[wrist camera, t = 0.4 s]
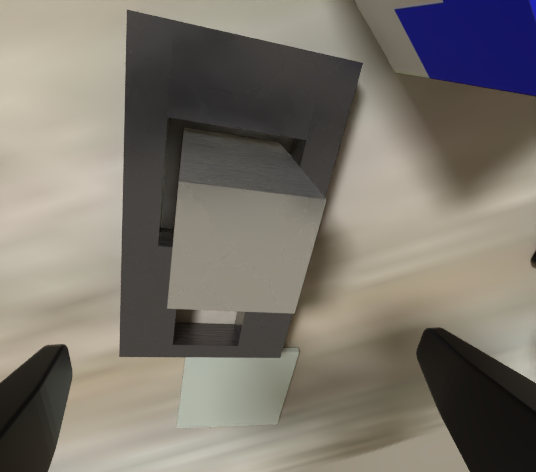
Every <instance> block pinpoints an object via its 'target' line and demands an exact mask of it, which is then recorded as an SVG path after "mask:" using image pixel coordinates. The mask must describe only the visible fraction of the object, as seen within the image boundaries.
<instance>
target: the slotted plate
mask: <svg viewBox="0 0 536 472" xmlns="http://www.w3.org/2000/svg"><path fill="white" fill-rule="evenodd" d="M362 64H363V63H360V62H356V61H351V60H347V59H343V58H338V57H334V56H329V55H325V54H320V53H316V52H312V51H307V50H303V49H298V48H294V47H290V46H285V45H281V44H276V43H272V42H267V41H263V40H259V39H254V38H250V37H245V36H241V35H236V34H232V33H228V32H223V31H219V30H214V29H210V28H205V27H201V26H197V25H192V24H188V23H183V22H179V21H175V20H170V19H166V18H161V17H157V16H152V15H148V14H144V13H139V12H135V11H130V10H127V35H126V81H125V126H124V172H123V217H122V263H121V309H120V354H119V357H214V358H280V357H281V354H282V350H283V347H284V343H285V340H286V336H287V332H288V329H289V325H290V322H291V318H292V315H293V314H292V313H266V312H241V311H237V316H236V321H235V325H233V324H200V323H175V318H176V309H167V304H168V293H169V282H170V271H171V260H172V249H173V238H174V230H171V229H161V221H162V207H163V194H164V180H165V166H166V153H167V139H168V126H169V118H174V119H180V120H186V121H192V122H199V123H205V124H211V125H217V126H223V127H229V128H235V129H242V130H248V131H254V132H260V133H266V134H272V135H278V136H285V137H291V138H295V139H294V144H293V148H292V153H291V157H292V158H293V159H294V161H295V162H296V163H297V164H298V165H299V167H300V168H301V169H302V170H303V171H304V173H305V174H306V175H307V176H308V177H309V179H310V180H311V181H312V182H313V184H314V185H315V186H316V187H317V188H318V190H319V191H320V192H321V193H322V194H323V196H324V197H326V193H327V189H328V186H329V182H330V179H331V175H332V172H333V168H334V164H335V161H336V157H337V154H338V150H339V147H340V143H341V139H342V136H343V132H344V129H345V125H346V122H347V118H348V114H349V111H350V107H351V104H352V100H353V97H354V93H355V89H356V86H357V82H358V79H359V75H360V72H361V68H362Z"/></svg>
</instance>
